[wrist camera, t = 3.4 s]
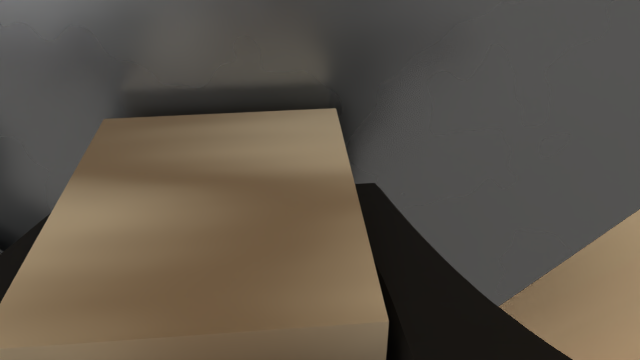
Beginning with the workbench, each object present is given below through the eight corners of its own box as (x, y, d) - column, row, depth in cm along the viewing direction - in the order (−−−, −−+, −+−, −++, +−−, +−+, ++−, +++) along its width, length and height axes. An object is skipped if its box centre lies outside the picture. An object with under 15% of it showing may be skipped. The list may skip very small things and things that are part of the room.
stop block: (145, 290, 12) (77, 552, 7) (103, 119, 9) (-27, 351, 5) (335, 278, 12) (373, 525, 8) (336, 108, 10) (389, 321, 6)
